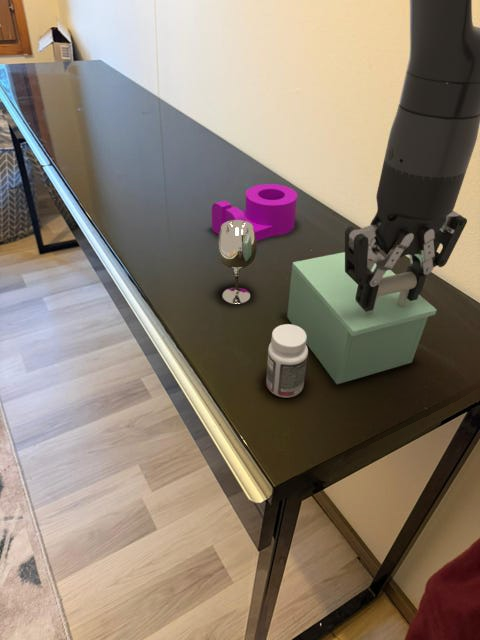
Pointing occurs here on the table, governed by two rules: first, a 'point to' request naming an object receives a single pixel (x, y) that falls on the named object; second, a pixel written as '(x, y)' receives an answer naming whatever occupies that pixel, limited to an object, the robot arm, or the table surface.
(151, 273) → the table surface
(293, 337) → the pill bottle
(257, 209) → the tape dispenser
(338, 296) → the bin lid
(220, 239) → the wineglass
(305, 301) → the bin
